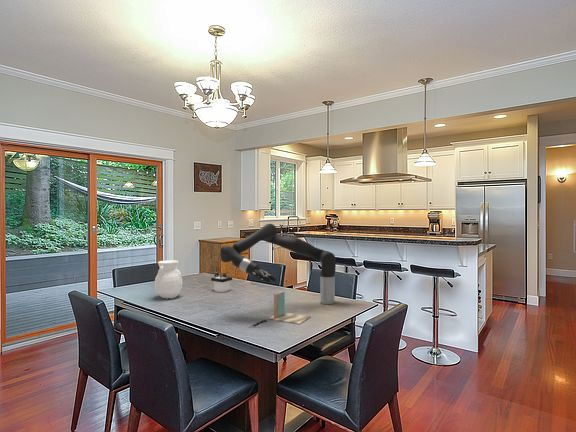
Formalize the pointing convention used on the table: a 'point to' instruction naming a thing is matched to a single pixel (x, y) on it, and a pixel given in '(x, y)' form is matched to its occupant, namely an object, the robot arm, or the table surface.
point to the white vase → (168, 279)
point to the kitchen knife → (257, 324)
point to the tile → (279, 304)
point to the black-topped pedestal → (221, 282)
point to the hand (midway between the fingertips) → (272, 280)
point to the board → (291, 318)
